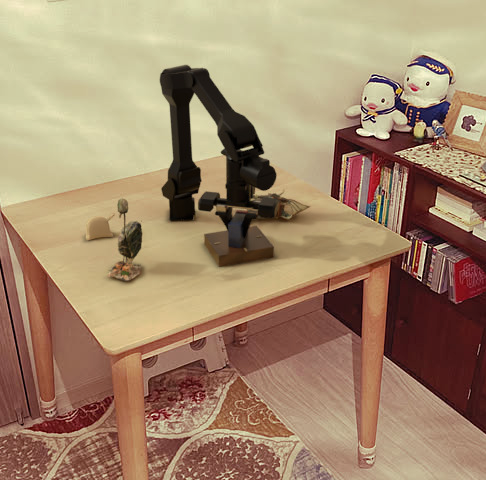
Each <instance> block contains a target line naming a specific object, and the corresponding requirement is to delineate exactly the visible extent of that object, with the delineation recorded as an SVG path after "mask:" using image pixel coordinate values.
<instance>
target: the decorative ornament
mask: <svg viewBox="0 0 486 480" xmlns="http://www.w3.org/2000/svg"><path fill="white" fill-rule="evenodd" d="M115 216H116V213H112V214H110V215H109V216H108V217H107V218H106V217H104V216H102V215H97V216H92V217H91V218H89V219H88V221H87V223H86V228H85V230H86V231H85V232H86V234H85V239H86V241H91V240H94V239H98V238H105V237H106V238H107V237H108V238H113V237H114V234H113V233H112V231H111V228H110V223H109V221H111V219H113V218H114V217H115Z"/></svg>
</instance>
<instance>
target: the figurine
mask: <svg viewBox="0 0 486 480" xmlns="http://www.w3.org/2000/svg"><path fill="white" fill-rule="evenodd" d="M284 193H285V189H284V188H283V189H282V191H281V192H280V193H276V192H273V193H269V192H268V194H264V195H263V194H261V195H258V194H256V193H255V194H254V196H253V198H252V199H251V200H250V201H261V200H262V198H263V197H266V198H276V199H277V200H278V201H279V210H278V212H277V214H276V216H275V218H274V219H276V220H277V219H278V218H281V219H285V220H287V221H288V220H290V219H292V218H293V217H295V216H297V215H299V214H300V213H302V212H304V211H306V210H307V209H309V208H311V205H307V204H303V203H301V202H299V201H297V200H295V199H292V198H286V197H283V196H282V195H283V194H284ZM286 206H289V207H290V210H291V214H289V213H288V212H289V211H286V210H285V207H286ZM265 219H266V218H262V217H260V216H258V218H257V219H256V220H257V221H258V220H259V221H261V220H262V221H263V220H265Z"/></svg>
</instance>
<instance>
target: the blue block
mask: <svg viewBox="0 0 486 480" xmlns="http://www.w3.org/2000/svg"><path fill="white" fill-rule="evenodd" d="M246 213H247V210H245V209H236V211H235V213H234V214H233V215H232V219H231V221H230V222H229V224H228V247H236V248H241V246H242V244H243V242H244V240H245V238H244V235H243V229H244V217H245V215H246ZM247 234H248V233H247Z"/></svg>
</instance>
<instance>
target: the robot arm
mask: <svg viewBox="0 0 486 480" xmlns="http://www.w3.org/2000/svg"><path fill="white" fill-rule="evenodd" d="M159 84H160V89H161V94H162V97H164V99H165V100H166V102H167V103H168V105H169V118H170V135H171V146H172V147H171V148H172V149H171V150H172V161H171V164H170V166H169V168H168V170H167V181H166V182H165V183H164V184H163V186H161V194H162V197H163V198H165V199H167V200H168V207H169V208H168V209H169V214H168V216H169V219H168V220H169V221H170V222H178V221H179V222H180V221H181V222H182V221H194V220H195V219H194V216H195V215H196V200H195V199H196V198H195V197H194V196H193V195H197V194H199V191H200V187H201V183H202V182H203V181H202V175H201V174H202V169H201V167H200V166H198V165H197V164H196V163H195V162H194V160H193V149H192V147H193V145H192V129H191V108H190V104H191V101H192V99H193V97H194V96H196V97H197V99H198V100H199V102H200V103H201V105H202V106H203V107H204V109H205V110H206V112H207V113H208V115H209V116H210V118H211V119H212V120H213V121H214V123H215V125H216V128H217V129H216V135H217V138H218V139H219V141H220V143H221V145H222V146H223V149H221V150H220V154H221V155H223V156H225V167H226V168H225V177H226V179H225V180H226V182H225V185H224V186H225V189H226V191H225V193H226V198H225V197H224V198H223V197H221V194H220V192H217V191H207V190H206V191H204V192H203V193H202V195H201V196H200V198H199V199H198V201H197V210H198V211H199V212H200V211H201V212H209V213H210V212H211V211H213V210H214V208H215V212H214V215H215V216H218V217H219V219H220V220H221V221H222V223H223V225H224V226H225V228H226V230H228V224H229V222H230V221H231V219H232V217H233V209H234V208H235V209H240V210H246V211H247V213H246V215H245V217H244V229H243V235H244V238H246V236H247V233H248V230H249V227H251V226H252V222H253V221H254V220H257V218H258V216H260V217H262V218H265V219H270V220H271V219H276V218H275V217H276V214H277V212H278V210H279V201H278V200H277V199H276V198H266V197H263V198H262V200H261V201H250V200H251V199H252V198H253V196H254V195H256V189H257V190H259V191H263V192H266V191H268V190H270V189H271V188H272V187H273V186H274V185H275V183H276V180H277V171H276V169H275V168H274V166H272V165H270V163H271V162H270V159H268V158H263V157H261V155H262V156H263V155H265V150H264V148H263V147H264V145H263V143H262V141H261V140H260V138H259V135H258V131H257V130H256V127H255V126H254V124H253V123H252V122H251V121H250V119H248V118H247V117H246V115H244V114H241V113H239V112H238V111H235V109H234V108H233V107H232V106H231V104H230V103H229V101H228V100H227V99H226V98H225V96H224V94H222V91H221V90H220V89H219V87H218V85H216V84H215V82H214V81H213V79H212V78H211V75H210V72H209V70H208V69H207V68H205V67H191V66H190V65H189V64H182V65H178V66H173V67H172V66H171V67H168V68H164V69H163V70H162V71H161V72H160V74H159ZM249 147H252V148H249ZM245 148H248V149H245ZM243 149H245V150H243Z"/></svg>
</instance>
